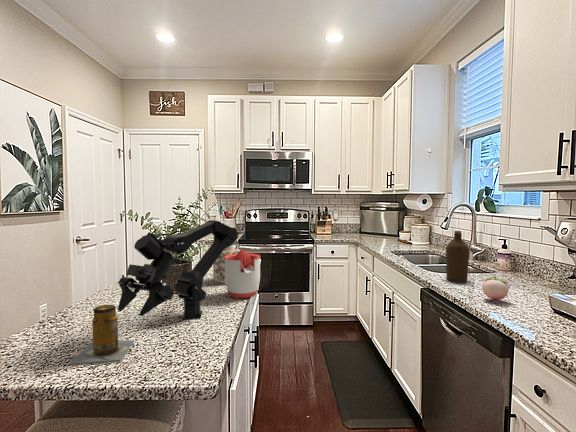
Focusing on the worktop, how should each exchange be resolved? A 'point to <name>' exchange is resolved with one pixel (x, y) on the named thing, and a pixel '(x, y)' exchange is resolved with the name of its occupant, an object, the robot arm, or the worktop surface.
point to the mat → (88, 359)
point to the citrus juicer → (242, 274)
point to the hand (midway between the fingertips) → (129, 313)
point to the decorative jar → (222, 264)
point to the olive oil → (457, 259)
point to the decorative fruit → (495, 288)
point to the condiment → (105, 332)
